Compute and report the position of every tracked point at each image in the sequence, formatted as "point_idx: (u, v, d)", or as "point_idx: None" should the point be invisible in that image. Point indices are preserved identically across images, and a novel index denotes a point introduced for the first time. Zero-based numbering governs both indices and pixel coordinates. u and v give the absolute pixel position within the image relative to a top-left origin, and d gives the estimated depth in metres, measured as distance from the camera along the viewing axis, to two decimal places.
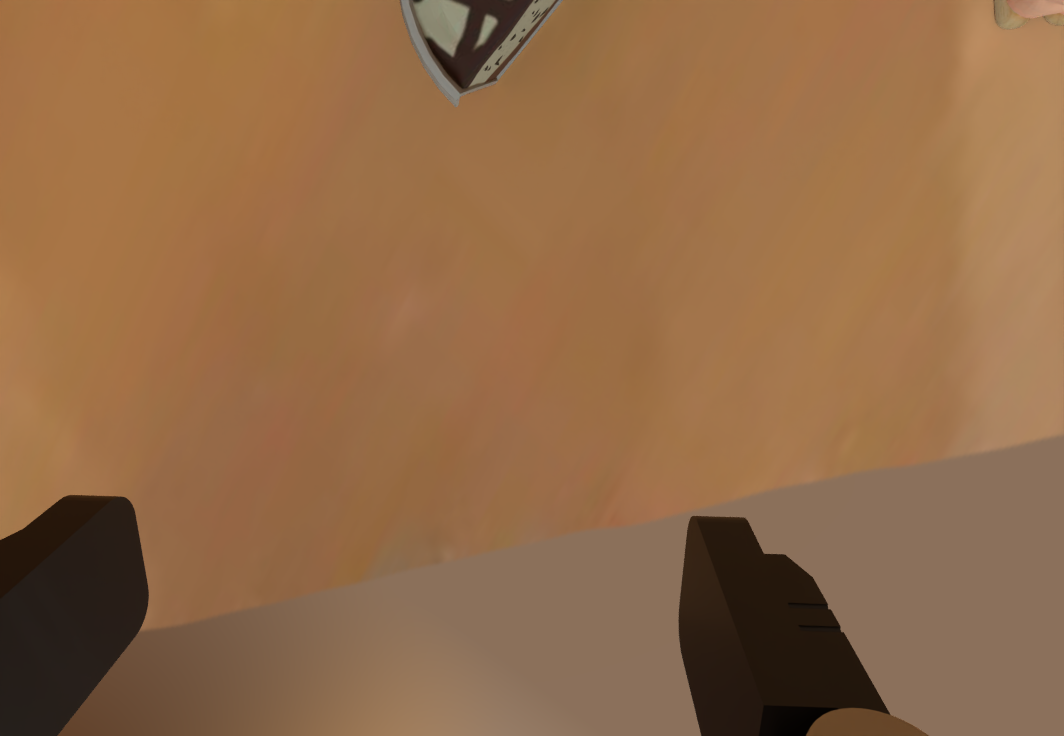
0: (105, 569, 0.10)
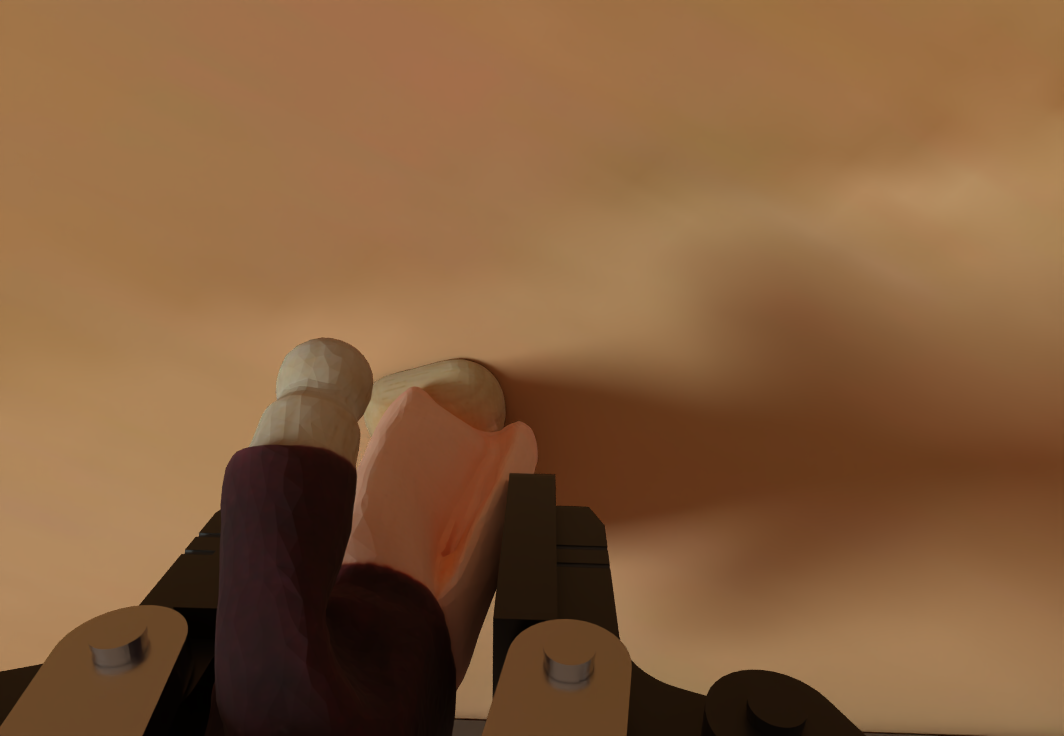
0: None
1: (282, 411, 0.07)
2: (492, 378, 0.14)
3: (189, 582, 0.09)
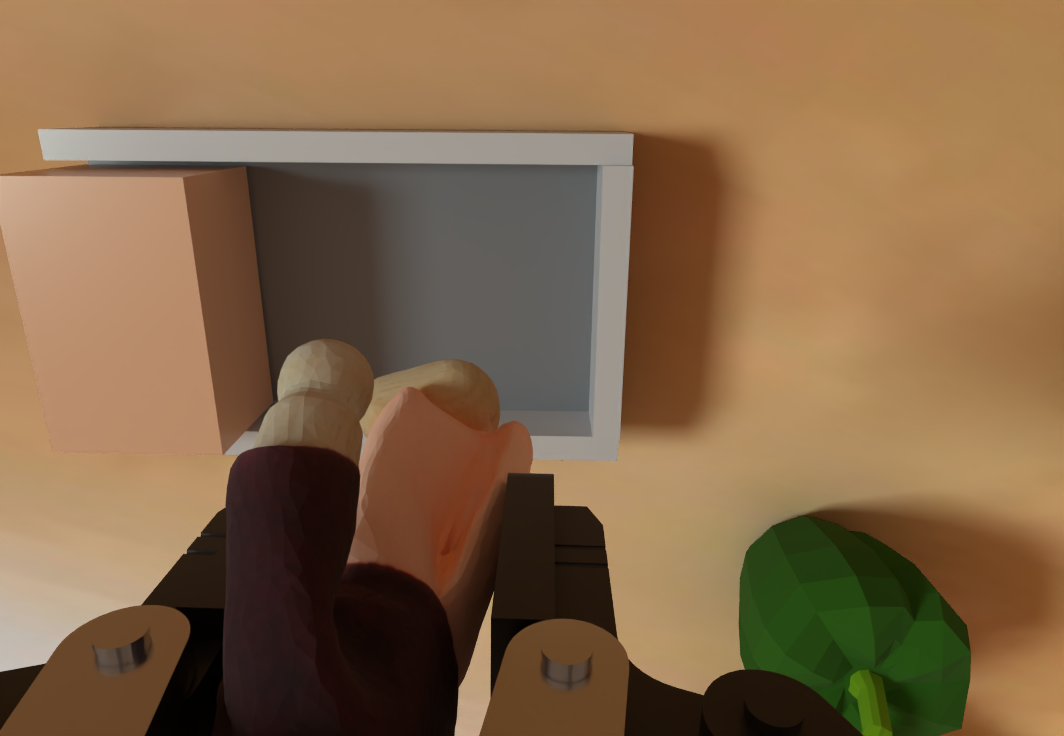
0: None
1: (285, 412, 0.07)
2: (487, 377, 0.14)
3: (191, 582, 0.09)
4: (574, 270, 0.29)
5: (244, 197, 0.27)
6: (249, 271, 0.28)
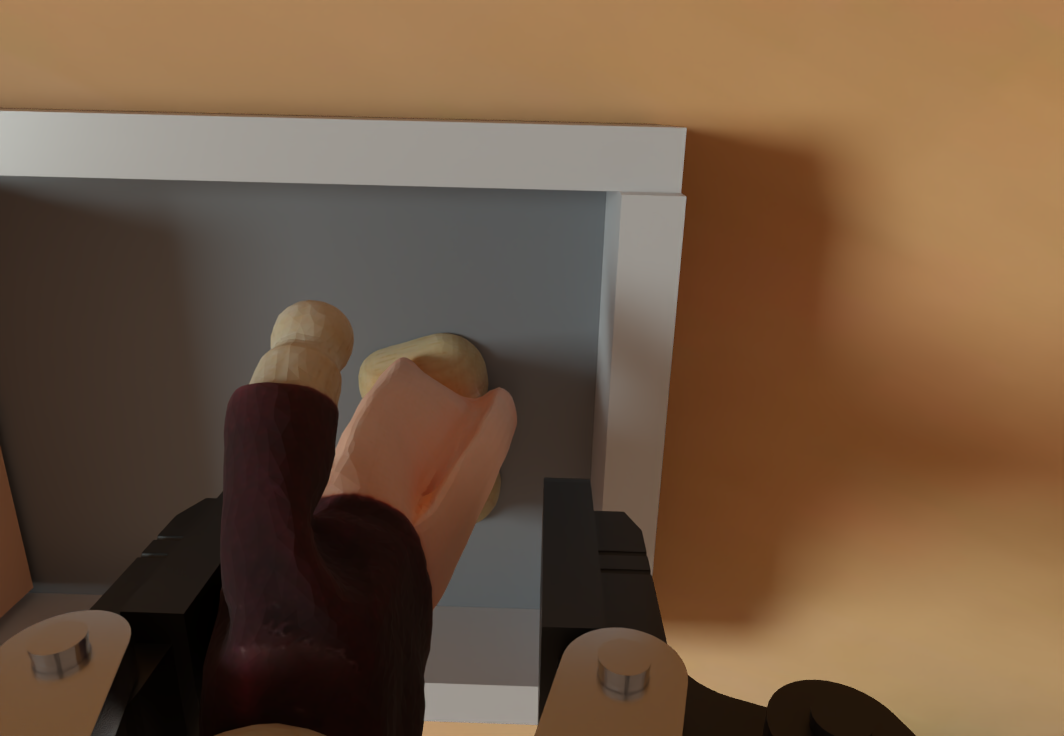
0: None
1: (274, 358, 0.08)
2: (475, 349, 0.15)
3: None
4: (561, 377, 0.16)
5: None
6: None
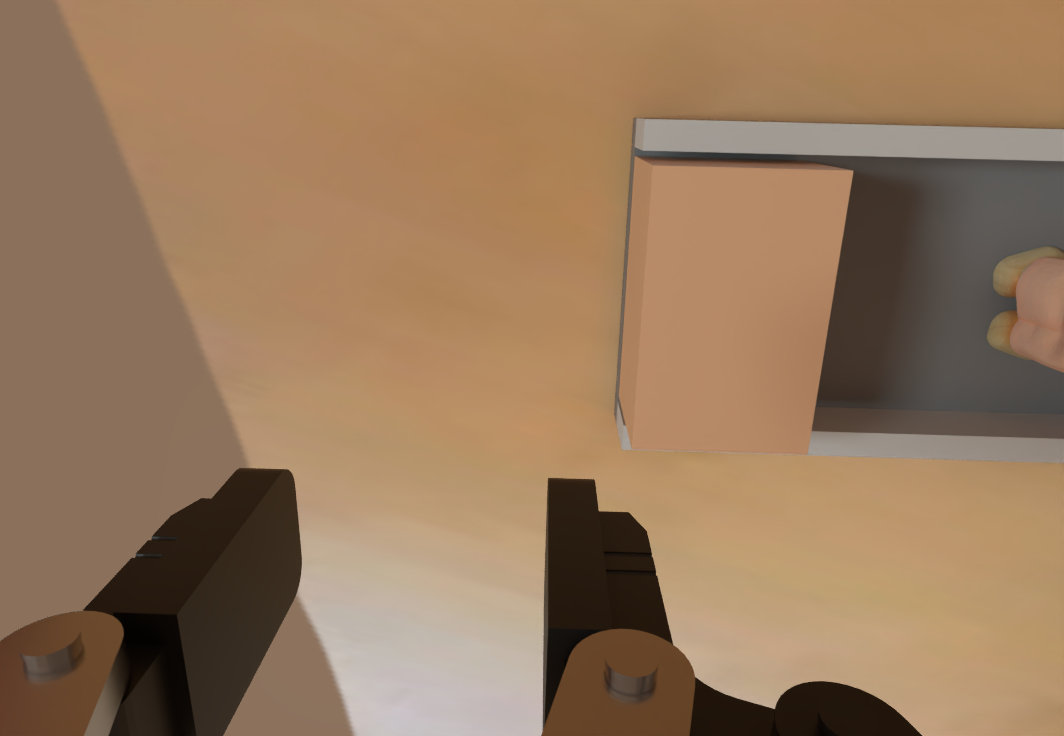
0: (277, 535, 0.11)
1: None
2: None
3: None
4: None
5: None
6: None
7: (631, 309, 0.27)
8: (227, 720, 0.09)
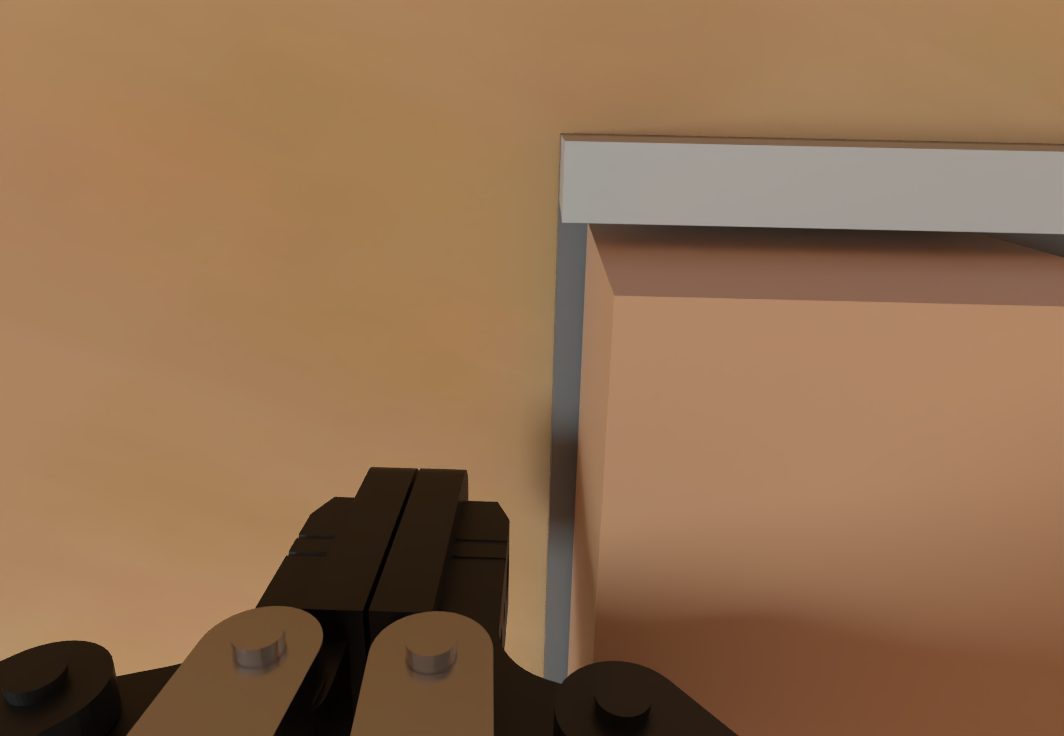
0: None
1: None
2: None
3: (300, 584, 0.09)
4: None
5: None
6: None
7: (579, 583, 0.11)
8: None
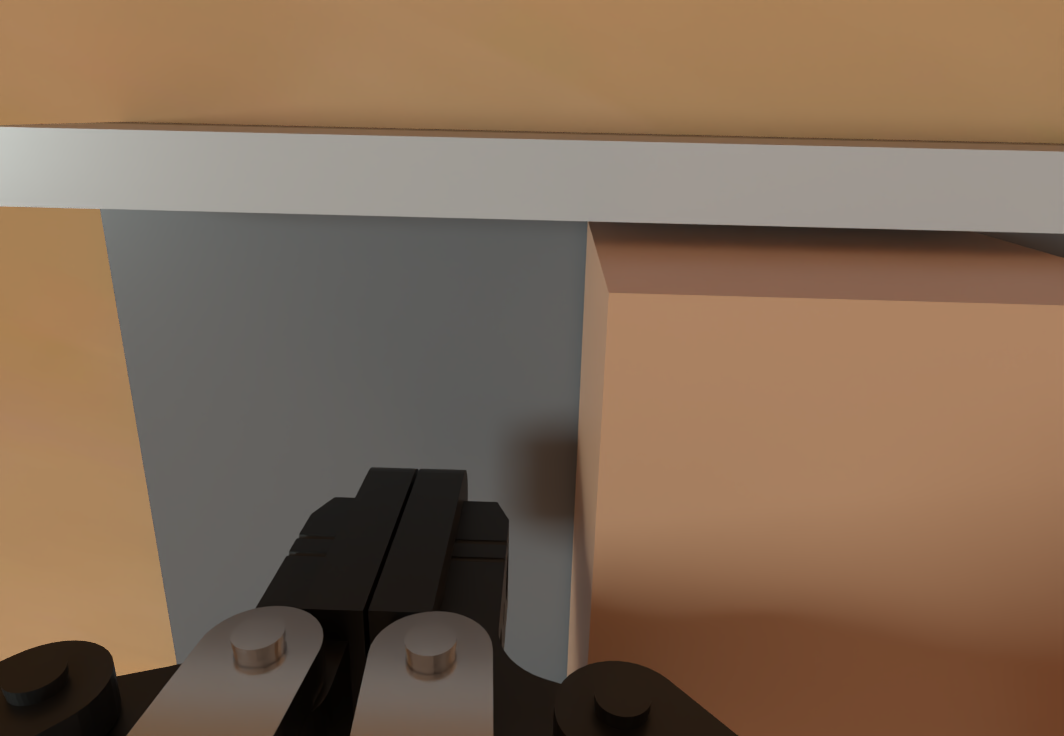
0: None
1: None
2: None
3: (301, 584, 0.09)
4: None
5: None
6: None
7: (577, 579, 0.11)
8: None
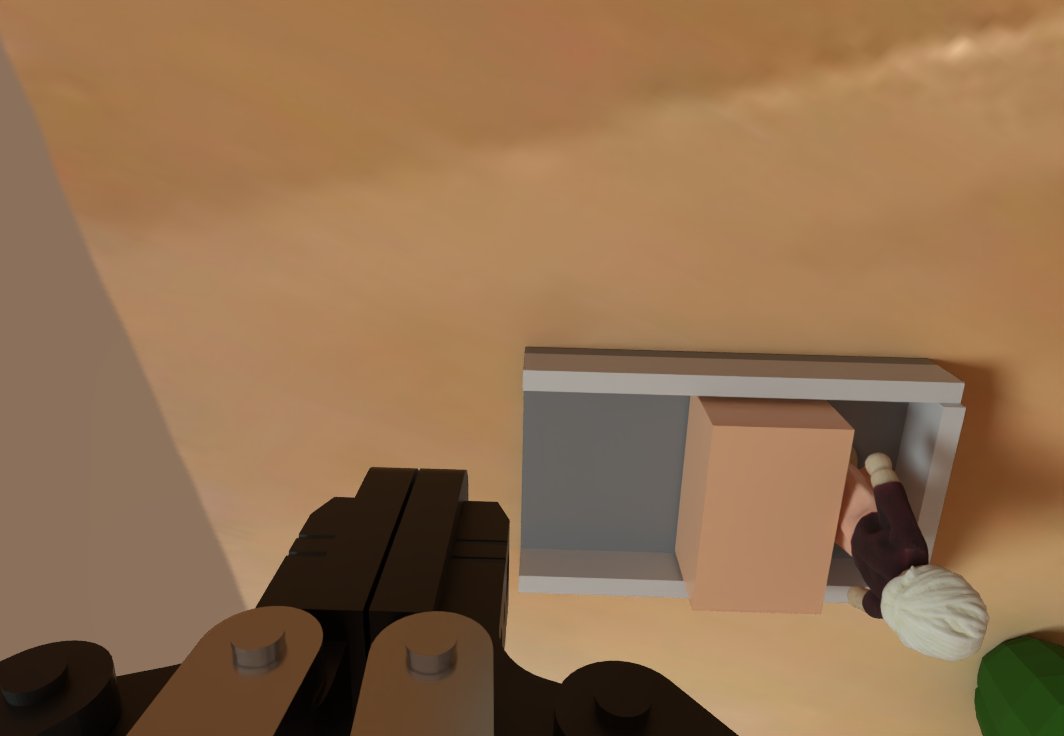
0: None
1: (885, 473, 0.30)
2: None
3: (300, 584, 0.09)
4: None
5: None
6: None
7: (689, 501, 0.36)
8: None
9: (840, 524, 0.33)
